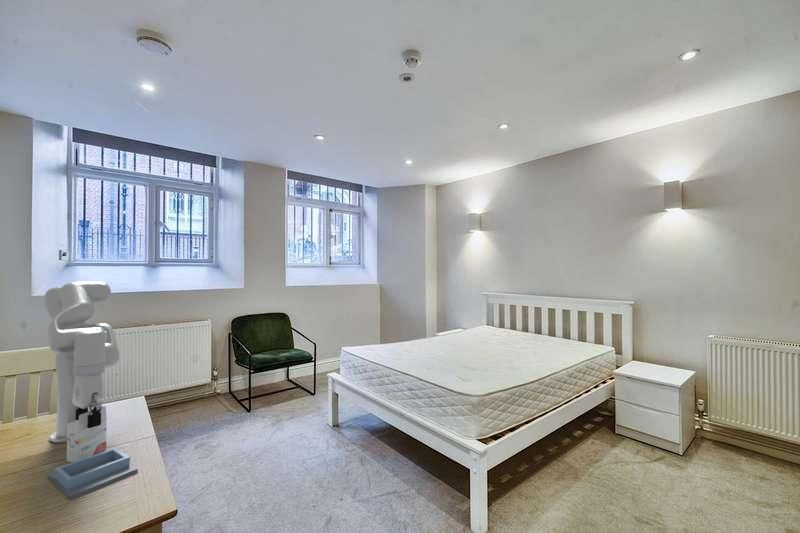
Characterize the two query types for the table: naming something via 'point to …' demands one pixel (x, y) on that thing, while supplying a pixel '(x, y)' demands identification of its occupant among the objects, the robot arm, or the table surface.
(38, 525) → the table surface
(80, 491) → the dock
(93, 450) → the ink cartridge box
